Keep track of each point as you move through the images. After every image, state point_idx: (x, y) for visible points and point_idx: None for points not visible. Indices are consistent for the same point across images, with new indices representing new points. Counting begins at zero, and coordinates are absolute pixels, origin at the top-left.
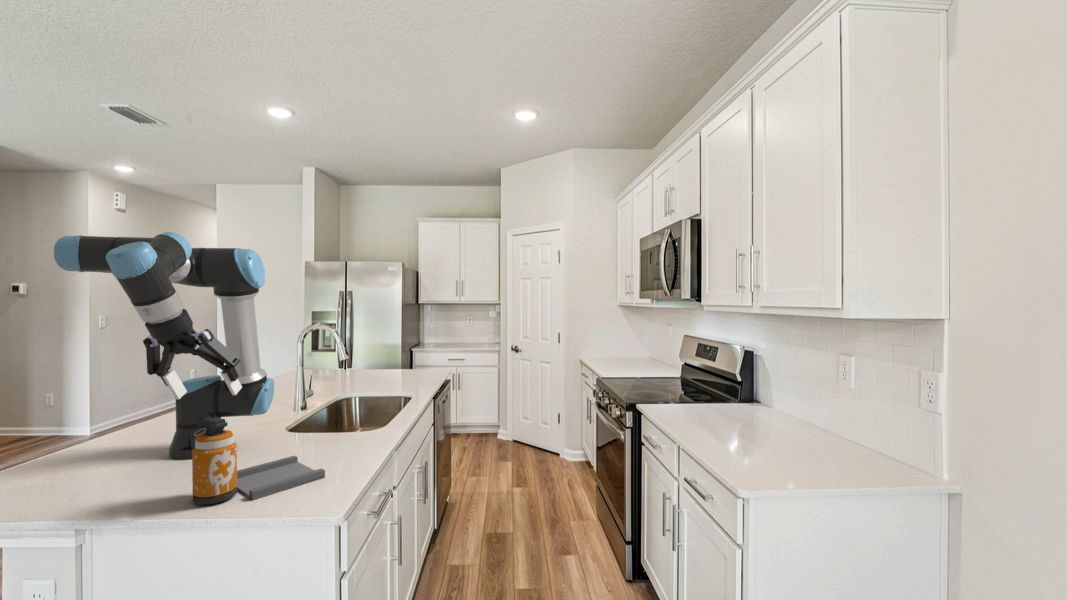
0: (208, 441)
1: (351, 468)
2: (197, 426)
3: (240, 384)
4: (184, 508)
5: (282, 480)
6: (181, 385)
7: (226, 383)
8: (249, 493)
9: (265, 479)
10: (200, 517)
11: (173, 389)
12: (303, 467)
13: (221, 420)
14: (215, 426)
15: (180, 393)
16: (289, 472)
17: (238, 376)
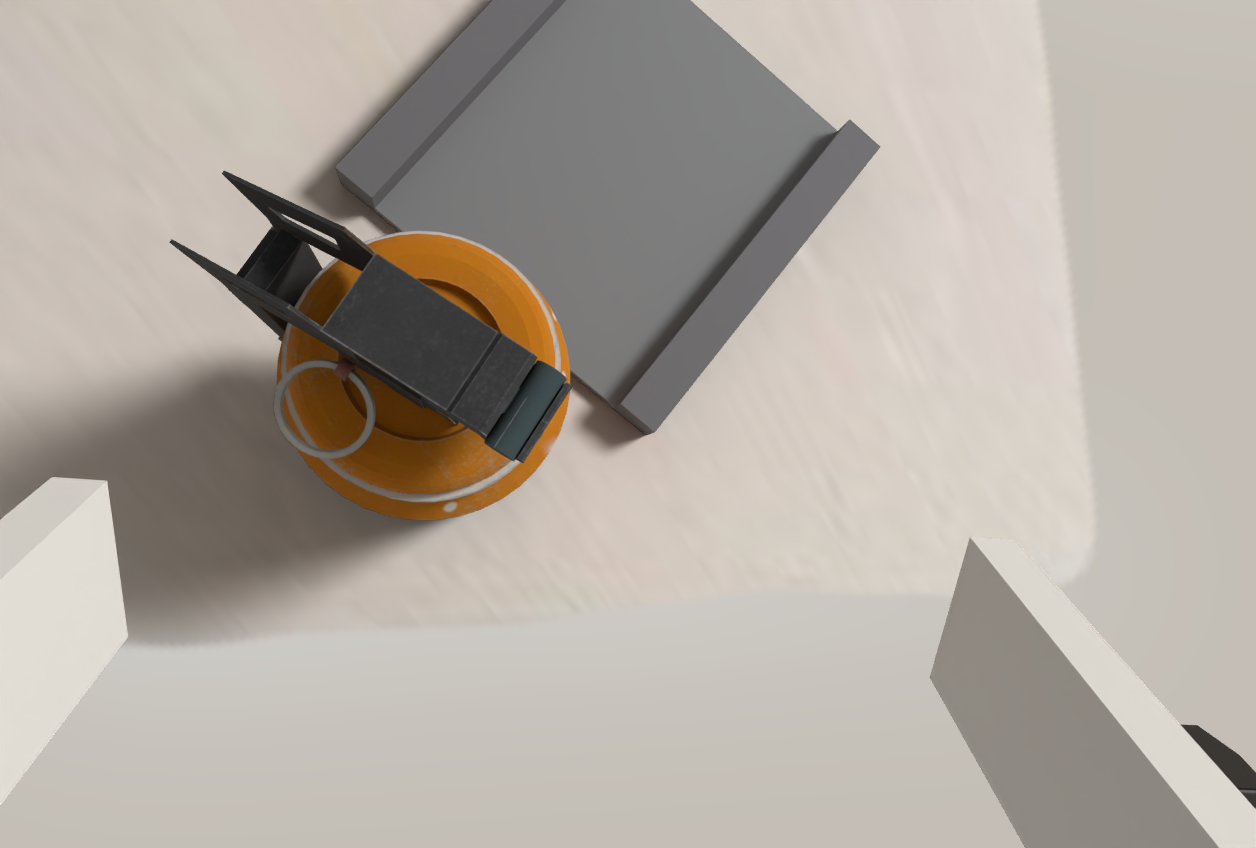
0: (456, 490)
1: (941, 45)
2: (186, 255)
3: (1042, 576)
4: (348, 528)
5: (727, 281)
6: (22, 592)
7: (1026, 842)
8: (618, 406)
9: (580, 198)
10: (503, 624)
11: (21, 776)
12: (700, 34)
13: (518, 384)
14: (501, 453)
15: (91, 618)
16: (660, 104)
17: (1216, 743)
